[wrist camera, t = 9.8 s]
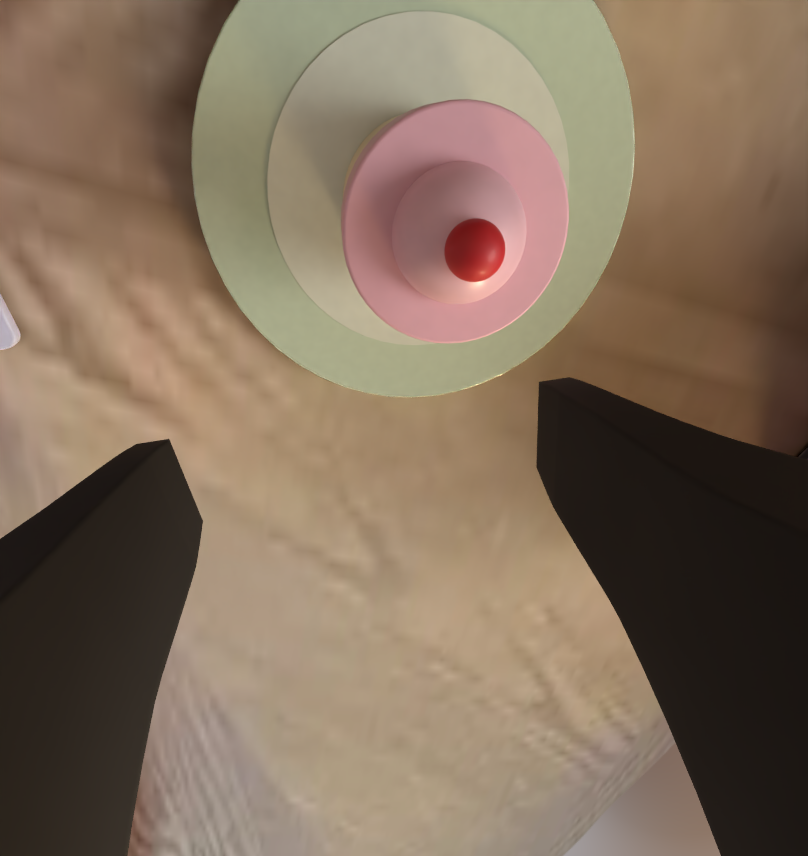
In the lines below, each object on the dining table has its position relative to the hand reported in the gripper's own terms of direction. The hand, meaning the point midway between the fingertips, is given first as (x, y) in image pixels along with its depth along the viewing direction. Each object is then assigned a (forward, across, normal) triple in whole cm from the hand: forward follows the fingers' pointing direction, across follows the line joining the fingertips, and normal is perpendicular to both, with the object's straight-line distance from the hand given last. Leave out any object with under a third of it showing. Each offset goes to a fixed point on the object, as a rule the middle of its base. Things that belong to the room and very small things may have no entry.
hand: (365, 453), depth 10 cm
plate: (+10, -3, -3) cm, 11 cm away
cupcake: (+9, -3, -3) cm, 10 cm away
